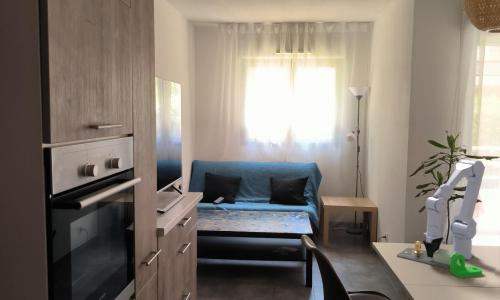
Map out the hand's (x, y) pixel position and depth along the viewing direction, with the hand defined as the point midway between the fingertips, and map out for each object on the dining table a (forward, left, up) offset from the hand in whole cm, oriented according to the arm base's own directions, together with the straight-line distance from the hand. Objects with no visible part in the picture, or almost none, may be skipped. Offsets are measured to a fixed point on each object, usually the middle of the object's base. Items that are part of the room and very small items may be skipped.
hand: (432, 255), depth 192 cm
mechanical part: (+8, +16, -3) cm, 18 cm away
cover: (0, +5, -1) cm, 5 cm away
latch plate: (-1, -3, -2) cm, 4 cm away
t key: (-4, -7, -1) cm, 8 cm away
